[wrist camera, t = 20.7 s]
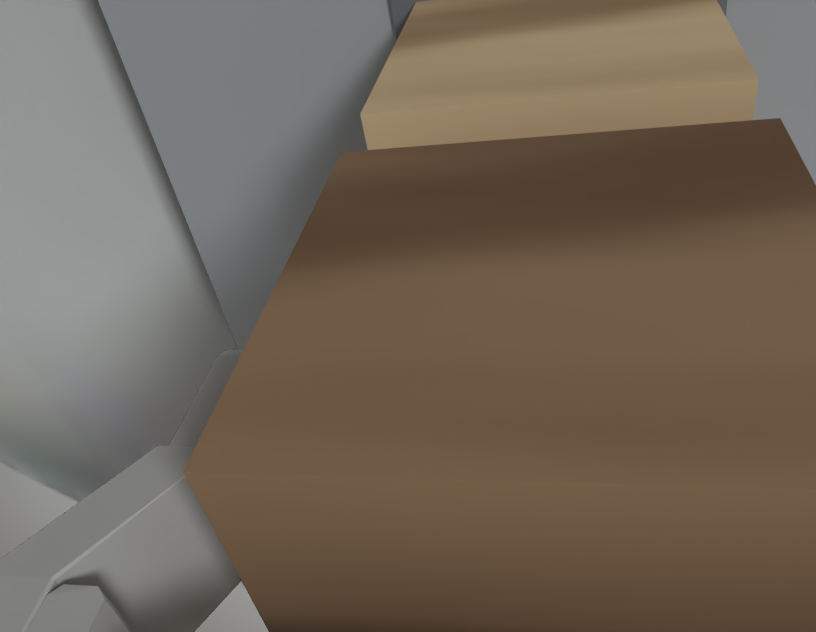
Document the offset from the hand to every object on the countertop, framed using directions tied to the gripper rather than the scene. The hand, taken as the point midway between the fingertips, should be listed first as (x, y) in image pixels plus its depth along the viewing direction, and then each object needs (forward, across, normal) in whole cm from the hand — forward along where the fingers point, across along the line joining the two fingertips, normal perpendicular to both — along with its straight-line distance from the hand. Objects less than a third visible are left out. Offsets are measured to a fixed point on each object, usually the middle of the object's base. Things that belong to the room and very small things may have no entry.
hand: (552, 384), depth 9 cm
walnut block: (+2, 0, 0) cm, 2 cm away
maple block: (+8, 0, 0) cm, 8 cm away
